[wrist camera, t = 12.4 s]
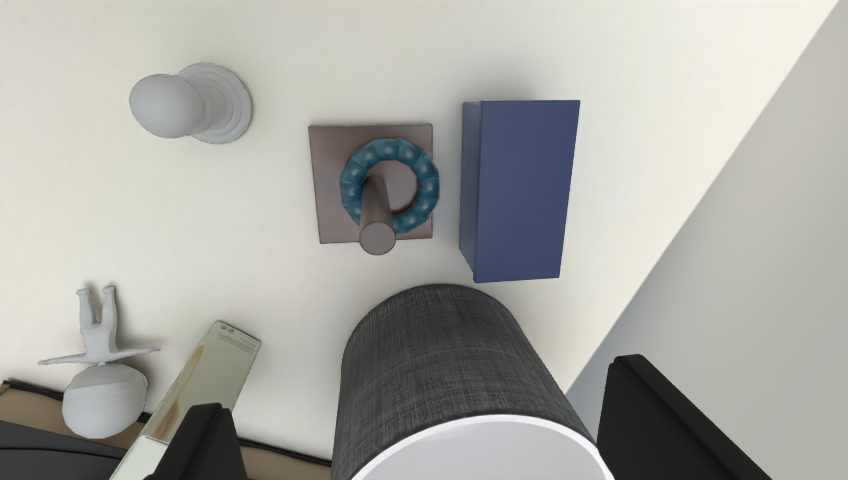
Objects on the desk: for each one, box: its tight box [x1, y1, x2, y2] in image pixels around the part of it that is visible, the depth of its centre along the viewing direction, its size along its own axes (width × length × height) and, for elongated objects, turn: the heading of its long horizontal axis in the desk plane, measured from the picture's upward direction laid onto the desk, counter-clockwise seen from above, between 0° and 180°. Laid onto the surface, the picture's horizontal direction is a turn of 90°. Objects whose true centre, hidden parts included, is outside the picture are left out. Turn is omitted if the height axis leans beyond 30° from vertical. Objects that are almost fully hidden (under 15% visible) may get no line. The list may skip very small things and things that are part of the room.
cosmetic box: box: [109, 321, 261, 480], centre depth 30 cm, size 6×4×12 cm
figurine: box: [38, 287, 161, 439], centre depth 32 cm, size 8×5×12 cm
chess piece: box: [130, 63, 252, 144], centre depth 24 cm, size 5×5×9 cm
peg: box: [308, 123, 432, 255], centre depth 26 cm, size 9×9×13 cm
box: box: [459, 100, 580, 283], centre depth 30 cm, size 12×6×6 cm, turn 0°
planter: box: [330, 285, 615, 480], centre depth 31 cm, size 18×18×16 cm
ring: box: [340, 138, 440, 235], centre depth 30 cm, size 7×7×2 cm
